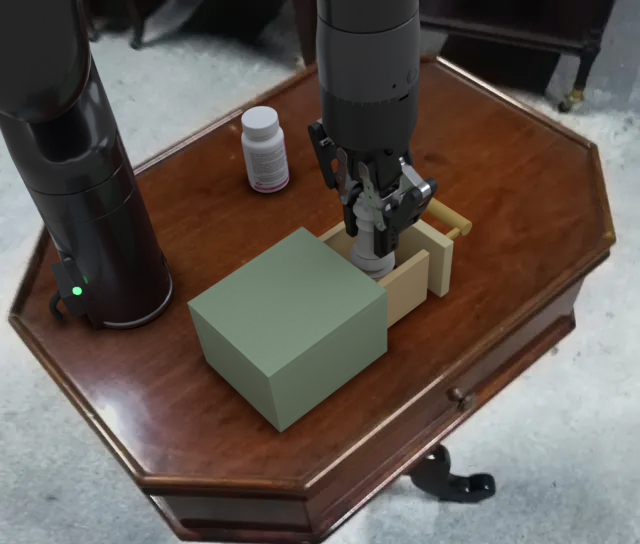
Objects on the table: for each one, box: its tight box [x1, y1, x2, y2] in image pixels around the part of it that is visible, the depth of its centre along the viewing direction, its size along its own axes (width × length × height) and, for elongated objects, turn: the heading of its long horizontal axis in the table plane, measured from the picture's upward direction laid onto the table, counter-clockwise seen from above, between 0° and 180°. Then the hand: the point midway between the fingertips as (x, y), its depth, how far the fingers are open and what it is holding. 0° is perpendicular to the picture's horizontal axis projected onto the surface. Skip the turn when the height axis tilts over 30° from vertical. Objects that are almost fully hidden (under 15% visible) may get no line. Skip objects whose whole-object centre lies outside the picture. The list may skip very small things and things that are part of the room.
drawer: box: [317, 196, 473, 329], centre depth 73 cm, size 17×10×7 cm, turn 131°
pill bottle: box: [240, 105, 290, 194], centre depth 84 cm, size 5×5×8 cm
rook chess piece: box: [349, 192, 396, 279], centre depth 69 cm, size 4×4×8 cm
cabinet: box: [186, 226, 388, 433], centre depth 70 cm, size 14×12×9 cm
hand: (371, 241), depth 69 cm, fingers closed on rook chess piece, 3 cm apart
